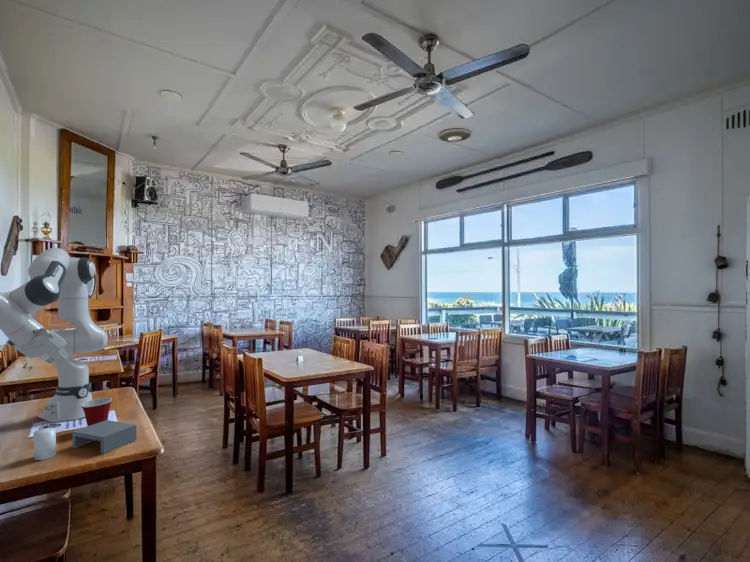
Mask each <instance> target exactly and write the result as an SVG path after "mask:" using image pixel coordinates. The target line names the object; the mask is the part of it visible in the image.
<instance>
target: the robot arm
mask: <svg viewBox="0 0 750 562" xmlns="http://www.w3.org/2000/svg"><path fill="white" fill-rule="evenodd" d="M27 271H28V272H27V273H28V276H29V278H31V279H30V280H29V281H28V282H26V283H23V284H22V285H20V286H19V287H17V288H15V289H13V290H11V291H7V292H0V331H2V333H3V334H4V335H5V337H7V338H8V339H7V341H6V344H7V345H8V346H10V347H14V348H15V349H16V351H19V352H20V353H21V354H23V355H24V356H25V357H26V358H30V359H33V358H34V359H35V358H39V359H40V360H42V361H44V362H46V363H48V364H54V366H55V367H56V371H57V377H58V380H57V381H58V386H55V387H54V390H56V391H55V394H54V395H53V396H52V397H51V398H50V399H48V401H47V402H45V406H44V412H42V413H39V414H38V415H37V417H38V418H39V419H42V420H45V421H46V422H49V423H58V422H66V421H67V420H68V421H75V420H78V419H80V420H81V419H84V418H85V413H84V410H83V408H82V407H81V404H83V403H85V402H87V401H91V400H93V395H92V393H91V392H90V391H91V383H90V381H89V380H90V376H89V374H90V369H89V366H88V365H87V364H86V363H85V362H83V361H80V360H76V359H74V358H73V357H72V356H73V355H76V354H77V355H78V354H84V353H85V354H86V353H87V354H88V353H94V352H98V351H101V350H104V349H105V348H106V346H107V344H108V341H109V338H108V334H107V332H106V331H105V330H103V329H102V328H100V327H98V326H97V325H96V324H95V322H94V321H93V320H92V318H91V315H90V310H89V309H90V308H89V293H88V291H89V290H88V283H89V282H91V281H92V280H93V279H94V277H95V275H96V265H95V263H94V261H93V260H92V259H90V258H88V257H72V256H70V254H69V253H68V252H67V251H66V250H64V249H62V248H59V247H51V248H48V249H45V250H44V251H43V252H41V253H40V254H39V255H38V256H37V257H35V259H34V260H33V261H32V262H31V263H30V265H29V267H28V270H27ZM54 302H57V315H58V317H59V318H60V320H63V321H65V322H67V323H70V324H73V325H75V328H74V329H62V330H51V329H44V326H43V325H42V324H41V323H39V321H37V320H36V319H35V318H33V316H31V315H32V314H33V313H35V312H37V311H39V310H41V309H43V308H45V307H47V306H49V305H50V304H52V303H54ZM83 417H84V418H83ZM68 421H67V422H68Z"/></svg>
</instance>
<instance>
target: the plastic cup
mask: <svg viewBox="0 0 750 562" xmlns="http://www.w3.org/2000/svg"><path fill="white" fill-rule="evenodd" d="M112 401H113V398H112V397H101V398H95V399H92V400H91V401H87V402H85V403H83V404H81V407H82V408H83V410H84V413H85V417H84V418H85V422H86V424H87V426H90V425H93V424H96V423H99V422H102V421H105V420H108V419H109V415H110V408H111V403H112Z"/></svg>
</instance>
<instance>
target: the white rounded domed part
mask: <svg viewBox="0 0 750 562" xmlns="http://www.w3.org/2000/svg"><path fill="white" fill-rule="evenodd" d="M56 430H57V428H55V427H46V428H42V429H38V430H35V431H34V432H33V459H35V460H34V461H36V460H41V461H46V460H50V459H53V458H54V457H56V456H57V431H56ZM55 455H56V456H55ZM49 458H50V459H49ZM45 459H46V460H45Z"/></svg>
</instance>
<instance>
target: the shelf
mask: <svg viewBox="0 0 750 562" xmlns="http://www.w3.org/2000/svg"><path fill="white" fill-rule="evenodd" d="M95 440H97V441H100V454H101V453H102V454H101V455H106V454H108V453H110V452H113V451H114V449H115V450H116V449H117V450H118V449H120V448H122V447H124V446H123V445H125V446H127V445H129V444H128V443H130V442H132V443H134V442H136V441H135V440H137V424H132V423H128V422H127V423H125V422H120V421H115V420H105V421H102V422H99V423H96V424H93V425H90V426H88V425H87V426H85V427H82V428H78V429H75V430H73V431H72V448H73V447H74V448H73V449H77V448H76V447H78V448H80V447H79V446H81V445H83V446H85V445H84V444H86V445H88V444H87V443H89V442H91V443H93V442H92V441H94V442H96V441H95ZM133 441H134V442H133ZM89 444H90V443H89ZM126 444H127V445H126ZM130 444H131V443H130ZM121 446H122V447H121ZM81 447H82V446H81ZM119 447H120V448H119ZM112 450H113V451H112ZM109 451H110V452H109ZM107 452H108V453H107Z"/></svg>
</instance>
